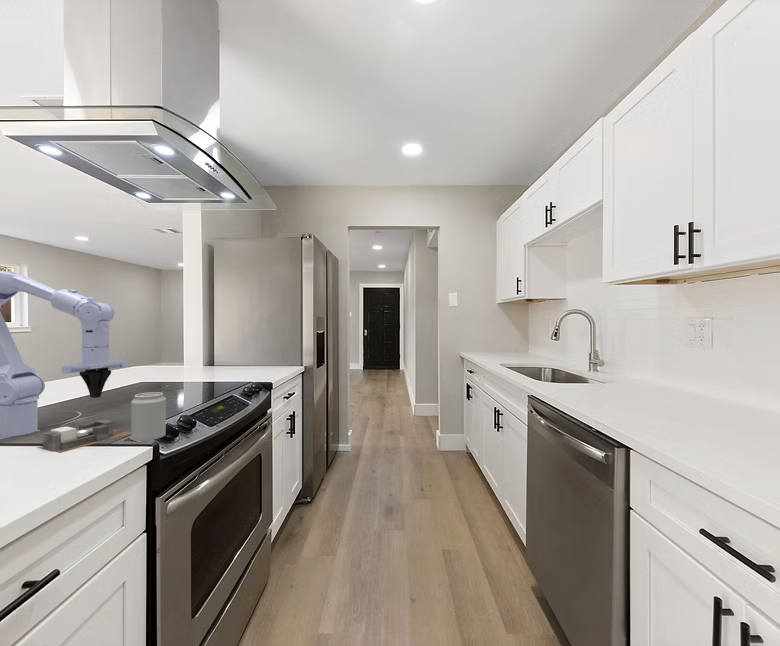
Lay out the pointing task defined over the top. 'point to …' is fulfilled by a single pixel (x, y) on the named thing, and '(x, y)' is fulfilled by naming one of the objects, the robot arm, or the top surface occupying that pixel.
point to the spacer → (65, 433)
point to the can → (148, 416)
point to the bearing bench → (98, 435)
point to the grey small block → (97, 423)
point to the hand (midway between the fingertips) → (95, 397)
